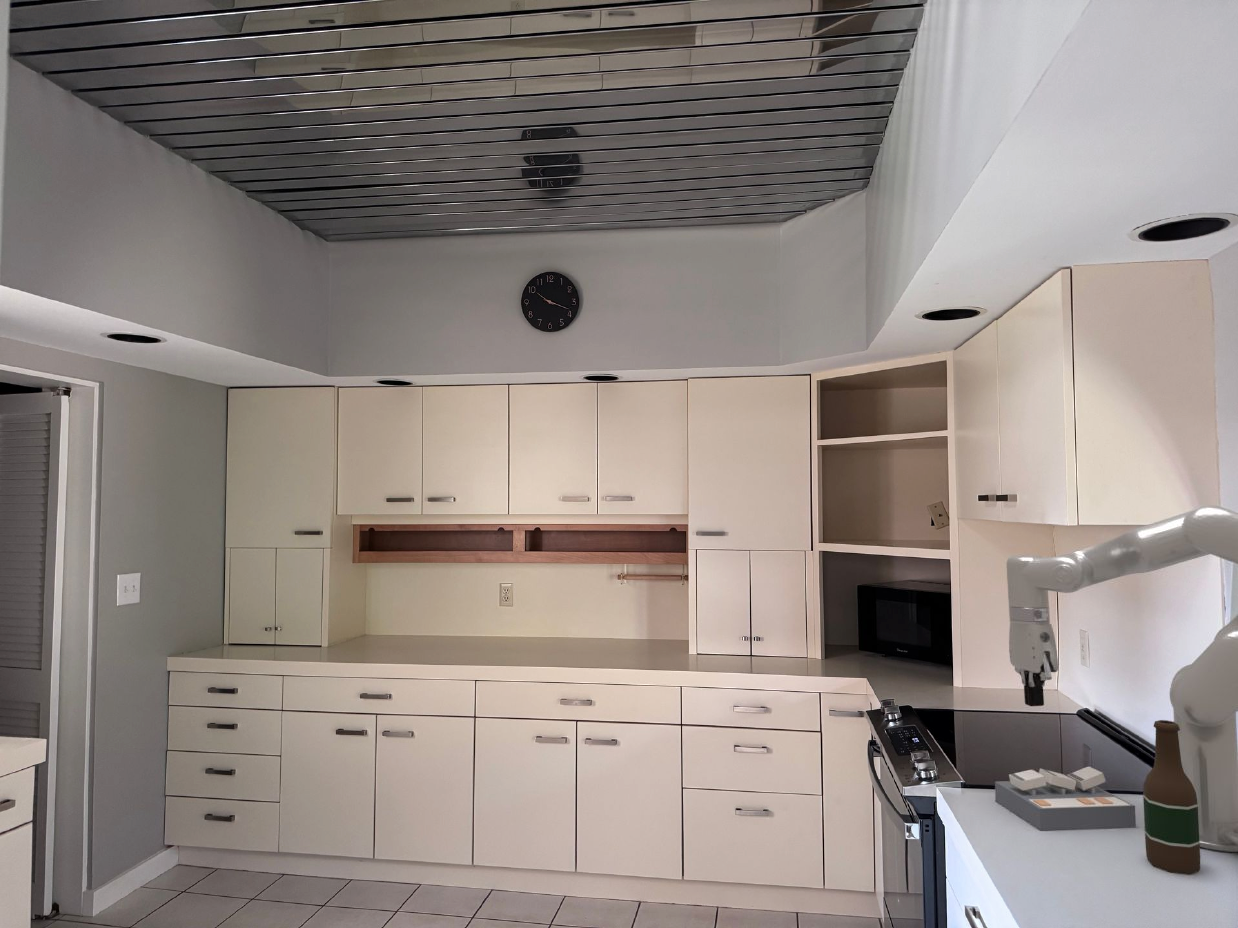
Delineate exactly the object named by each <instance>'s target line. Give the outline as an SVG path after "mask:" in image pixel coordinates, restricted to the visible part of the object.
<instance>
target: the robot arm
mask: <svg viewBox="0 0 1238 928" xmlns="http://www.w3.org/2000/svg"><path fill="white" fill-rule="evenodd" d="M1208 555H1213V556H1215V557H1218V558H1220V559H1223V560H1225V561H1229V562H1231V563H1234V564H1237V565H1238V512H1236V511H1234V510H1230V509H1228V508H1225V507H1223V506H1219V505H1204V506H1201V507H1199V508H1196V509H1193V510H1190V511H1189V510H1188V511H1187V512H1184V513H1180V514H1177V515H1174V516H1172V517H1167V518H1166V519H1162V520H1159V521H1155V522H1152V523H1149V524H1145V525H1143V526H1140V527H1137V528H1133V529H1130V530H1128V531H1126V532H1123V533H1121V535H1119V536H1116V537H1115V538H1112V539H1110V540H1107V541H1103V542H1101V543H1098V544H1095V545H1091V546H1089V547H1085V548H1082V549H1080V550H1077V551H1076V550H1075V551H1073V552H1070V553H1065V554H1060V555H1056V556H1055V555H1054V556H1049V557H1042V556H1039V555H1013V556H1012V555H1011V556H1010V557H1008V558H1007V560H1006V578H1007V579H1006V581H1007V583H1006V584H1007V598H1008V599H1007V600H1008V601H1007V602H1008V615H1009V616H1008V617H1009V630H1008V631H1009V632H1008V633H1009V636H1008V650H1009V651H1008V653H1009V660H1010V661H1009V662H1010V664H1011V665H1012V667H1014V671H1015V672H1016V673H1017V674H1019V675H1020V677H1021V683H1022V685H1023V694H1024V704H1025V705H1026V706H1029V707H1043V706H1044V705H1045V700H1044V699H1045V698H1044V697H1045V696H1044V687H1045V685H1046V684H1045V683H1046V681H1051V680H1052V679H1053V678H1052V677H1053V676H1052V673H1057V672H1058V671H1059V660H1058V650H1057V649H1058V648H1057V643H1056V638H1055V633H1054V630H1053V629H1054V628H1053V625H1052V623H1051V618H1050V602H1049V600H1050V599H1049V591H1050V592H1056V593H1064V594H1068V593H1069V594H1071V593H1075V592H1078V591H1080V590H1081V589H1084V588H1087V587H1090V586H1093V585H1098V584H1101V583H1104V582H1106V581H1110V580H1114V579H1117V578H1120V577H1124V576H1128V575H1133V574H1134V575H1135V574H1146V573H1150V572H1154V571H1157V570H1158V571H1159V570H1160V569H1164V568H1167V567H1171V566H1174V565H1178V564H1180V563H1181V564H1182V563H1184V562H1188V561H1191V560H1195V559H1199V558H1202V557H1205V556H1208ZM1169 701H1170V704H1171V707H1172V708H1173V709H1172V710H1173V722H1175V723H1177V724H1178V726H1179V728H1180V730H1179V731H1178V738H1179V746H1180V754H1181V763H1182V767H1183V771H1184V773H1185V774H1186V776H1187V777H1188V778H1189V780H1190V781H1191V783H1192V785H1193V787H1194V789H1195V791H1196V796H1197V803H1198V821H1199V841H1200V848H1202V849H1208V850H1212V851H1218V852H1219V851H1221V852H1234V853H1237V852H1238V731H1237V729H1238V728H1237V713H1238V614H1237V615H1236V616H1234V618H1233V619H1231V620H1230V622H1228V623H1227V624H1226V625H1225V626H1223V627H1222V628H1221V629H1220V630H1218V632H1217V633H1216V635H1215V636H1214V639H1213V640H1212V642H1211V643H1210V644H1209V645H1208V646H1207V647H1206V649H1204V651H1203V652H1202V653H1200V655H1199V656H1198V657H1197V658H1196V659H1195V660H1194V661H1193V662H1192V663H1191V664H1188V665H1185V666H1184V667H1182V668H1180V669H1179V670H1178V671H1177V672H1176V673H1175V674H1174V677H1173V678H1172V681H1171V684H1170V688H1169Z"/></svg>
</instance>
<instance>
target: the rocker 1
mask: <svg viewBox="0 0 1238 928" xmlns="http://www.w3.org/2000/svg"><path fill="white" fill-rule="evenodd" d="M1008 776H1009V777H1008V778H1009V781H1010V782H1011V784H1012V785H1014V786H1016V787H1018V788H1019V789H1021V790H1023V791H1024V790H1028V789H1032V788H1037V787H1041V786H1046V781H1045V776H1043V775H1041V774H1039V771H1038V772H1037V771H1035V770H1034V769H1028V770H1023V771H1020V772H1014V773H1010V774H1008Z"/></svg>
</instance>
